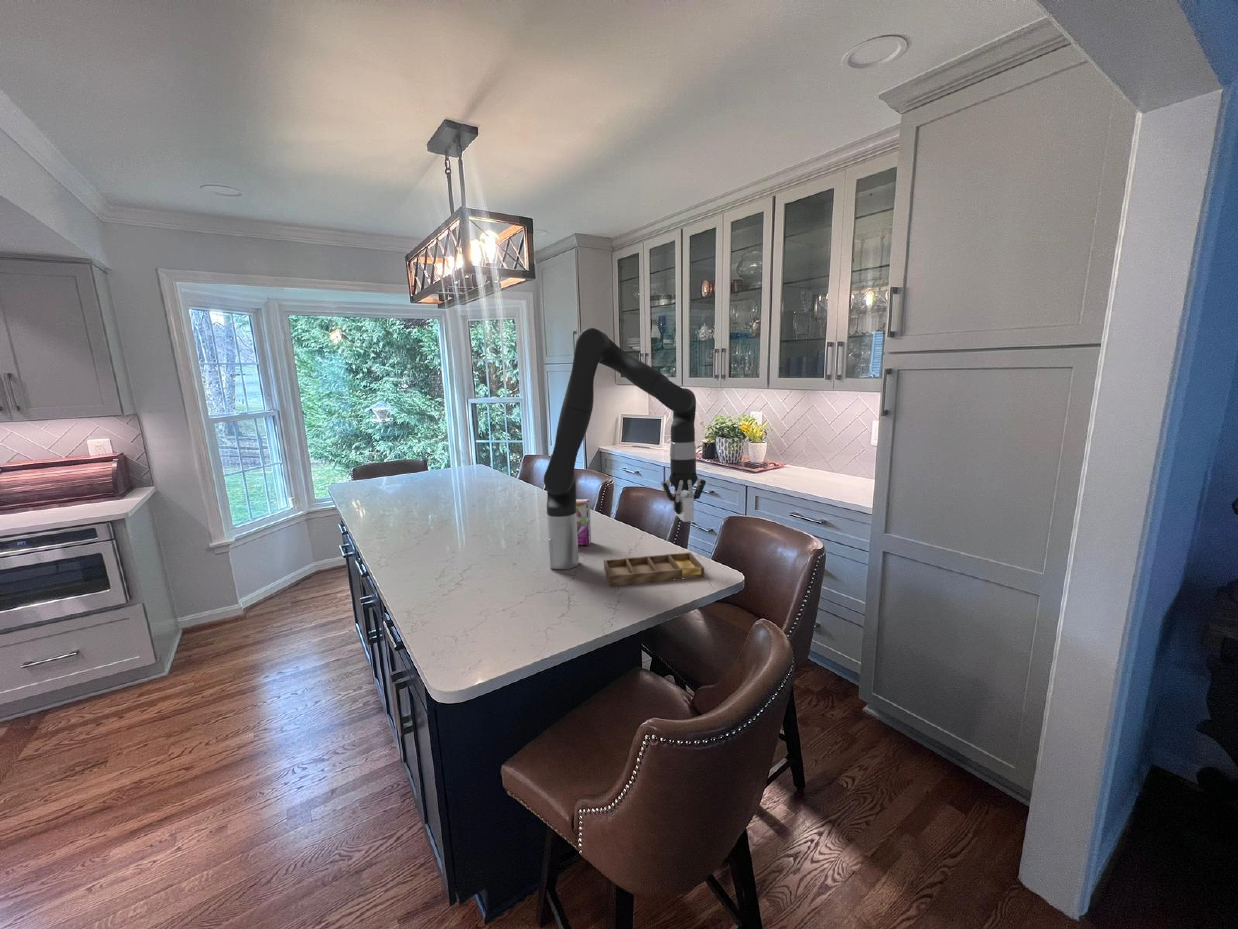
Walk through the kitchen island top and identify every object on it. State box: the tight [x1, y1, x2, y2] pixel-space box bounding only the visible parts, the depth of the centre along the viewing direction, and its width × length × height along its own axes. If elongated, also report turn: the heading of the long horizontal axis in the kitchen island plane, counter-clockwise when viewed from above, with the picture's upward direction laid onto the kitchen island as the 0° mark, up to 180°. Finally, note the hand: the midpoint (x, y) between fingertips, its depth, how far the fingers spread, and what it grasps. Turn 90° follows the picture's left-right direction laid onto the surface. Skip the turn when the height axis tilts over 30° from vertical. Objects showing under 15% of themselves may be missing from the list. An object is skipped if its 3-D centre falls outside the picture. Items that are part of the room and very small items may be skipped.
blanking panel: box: [674, 490, 695, 523], centre depth 149 cm, size 3×10×7 cm, turn 9°
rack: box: [603, 552, 705, 587], centre depth 150 cm, size 28×14×3 cm, turn 99°
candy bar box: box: [576, 498, 592, 547], centre depth 180 cm, size 11×5×16 cm, turn 84°
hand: (683, 513), depth 149 cm, fingers closed on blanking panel, 3 cm apart
